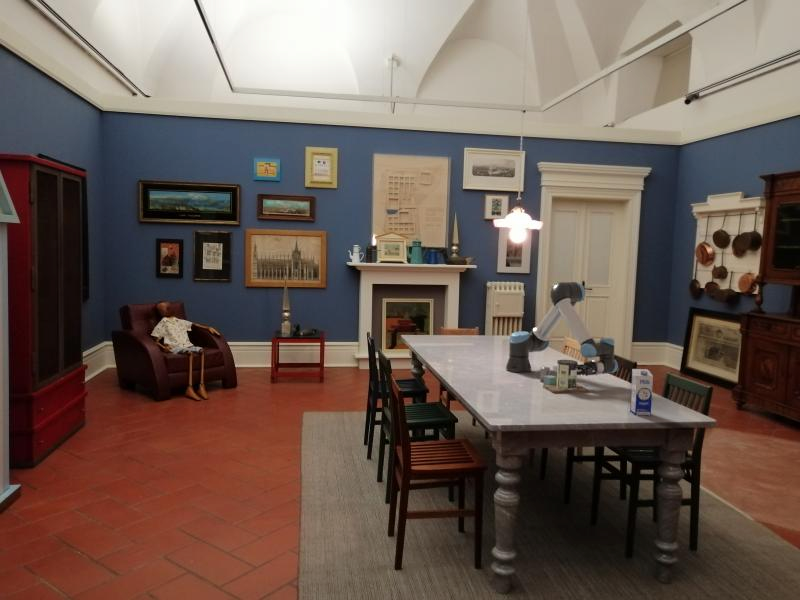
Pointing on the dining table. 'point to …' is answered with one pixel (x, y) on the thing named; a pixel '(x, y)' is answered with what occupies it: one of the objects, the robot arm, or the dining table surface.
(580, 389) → the walnut board
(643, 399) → the milk carton
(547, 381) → the teal cube
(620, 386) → the dining table surface
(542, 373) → the metal cylinder
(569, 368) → the coffee can
